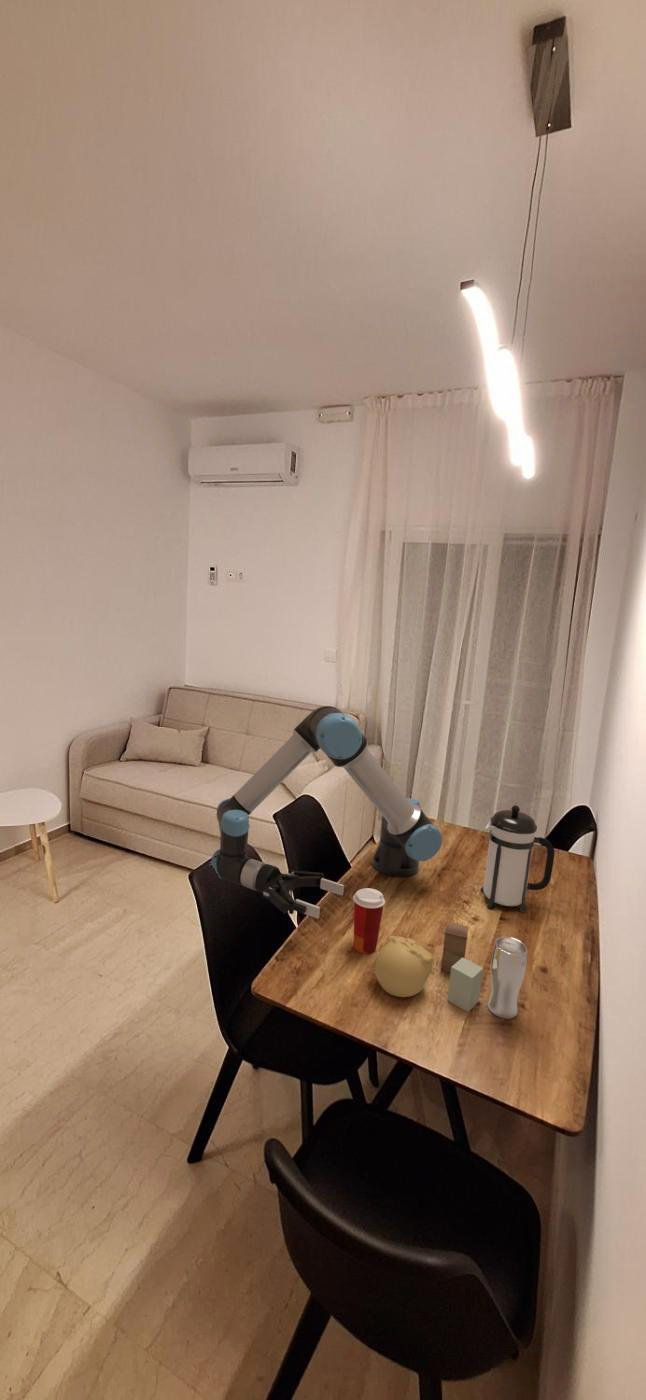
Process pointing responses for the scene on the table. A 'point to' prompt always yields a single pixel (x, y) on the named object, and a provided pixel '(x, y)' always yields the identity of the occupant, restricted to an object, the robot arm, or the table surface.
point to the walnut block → (453, 945)
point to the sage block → (465, 984)
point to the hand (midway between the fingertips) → (331, 901)
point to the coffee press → (512, 858)
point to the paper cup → (367, 919)
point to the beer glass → (507, 976)
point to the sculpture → (403, 967)
